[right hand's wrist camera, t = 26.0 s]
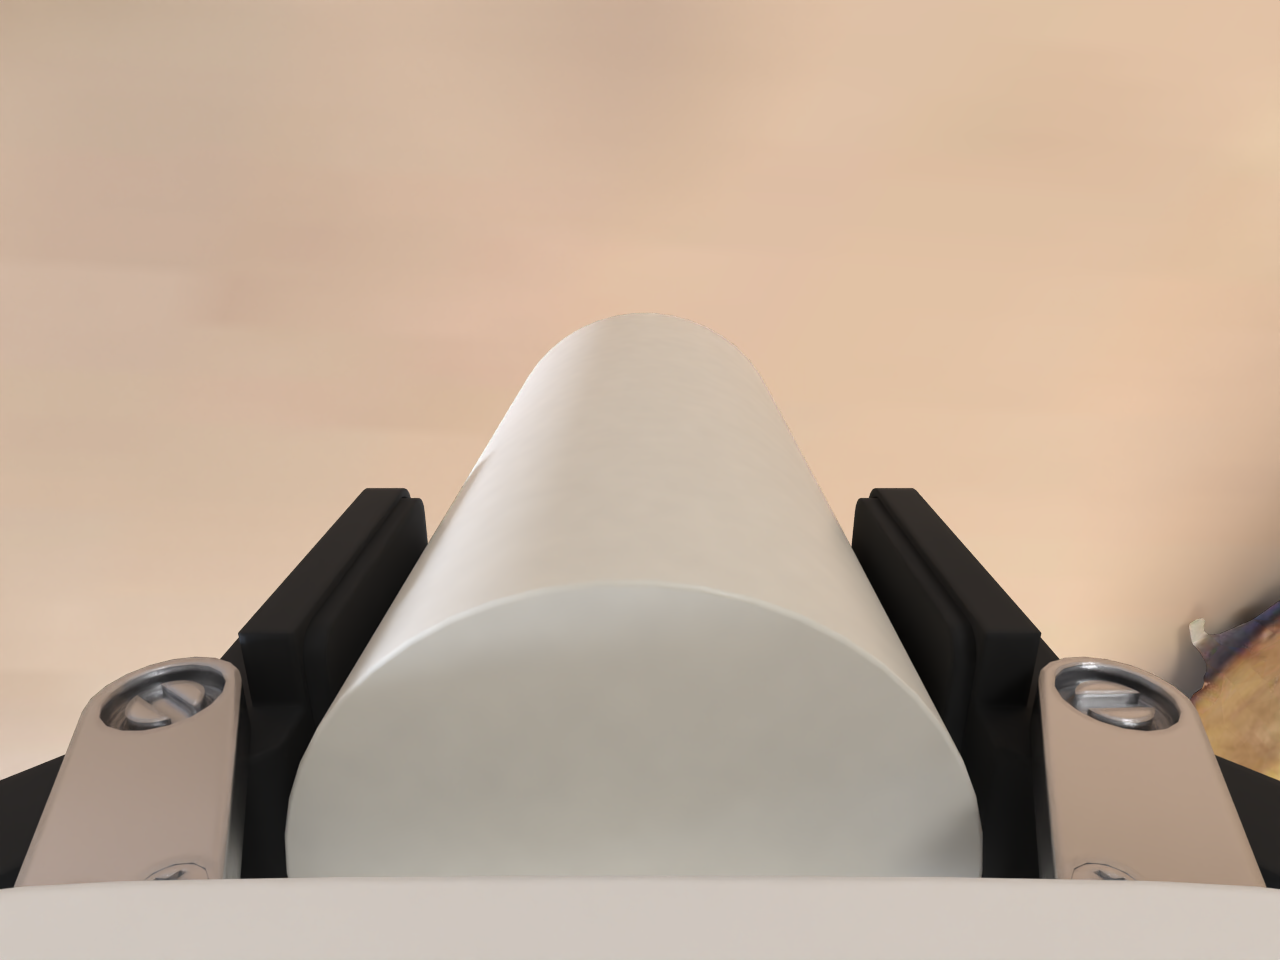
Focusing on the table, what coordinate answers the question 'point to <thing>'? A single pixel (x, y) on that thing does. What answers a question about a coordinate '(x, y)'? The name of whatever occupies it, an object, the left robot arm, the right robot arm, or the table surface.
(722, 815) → the can
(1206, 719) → the bread
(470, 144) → the table surface
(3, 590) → the table surface
